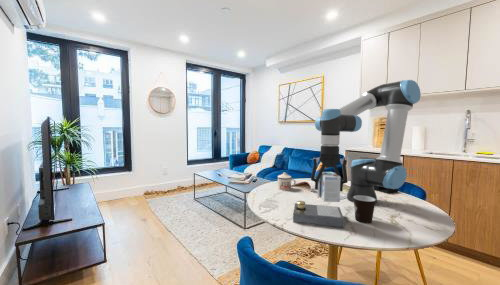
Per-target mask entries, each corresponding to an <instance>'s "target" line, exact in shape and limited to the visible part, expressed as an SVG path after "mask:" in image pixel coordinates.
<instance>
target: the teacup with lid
mask: <svg viewBox="0 0 500 285" xmlns="http://www.w3.org/2000/svg"><path fill="white" fill-rule="evenodd" d="M292 181H293V184H292ZM296 183H297V181H296V179H294V178H292V176H291V175H289V174H288V173H287V172H283V173H281V174H278V175H277V189H278V190H279V191H291V190H292V187H295V185H296Z"/></svg>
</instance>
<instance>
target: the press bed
mask: <svg viewBox="0 0 500 285" xmlns="http://www.w3.org/2000/svg"><path fill="white" fill-rule="evenodd" d="M292 213H293V215H292V222H293V223H295V224H303V225H312V226H319V227H328V228H338V229H345V228H344V226H345V225H344V224H345V218H344V216H343V213H342V210H341V208H340V207H339V206H333V205H322V204H321V205H320V204H306V203H305V207H304V210H298V204H297V202H296V203H294V208H293V212H292Z"/></svg>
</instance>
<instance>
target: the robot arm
mask: <svg viewBox="0 0 500 285" xmlns="http://www.w3.org/2000/svg"><path fill="white" fill-rule="evenodd" d="M420 99H421V88H420V86H419V84H418V83H417V82H416V81H415V80H413V79H406V80H403V79H402V80H400V81H394V82H389V83H384V84H380V85H378V86H375V87H373V88H371V89H370V90H367V91H366V92H364V93H362V94H361V95H360V97H358V98H356V99H355V100H353V101H351V102H349V103H348V104H346V105H343V106H342V107H340V108H326V109H323V110H322V113H321V115H320V116H318V117H317V118H316V119H315V122H314V127H315V129H316V130H317V131H319V132H321V133H320V145H321V146H320V156H319V157H313V158H312V162H313V166H312V170H311V178H310V180H311V181H312V182H314V189H315V190H317V195H316V197H317V199H319V198H320V182H318V181H319V179H320V177H321V175H322V173H323V172H324V170H325V169H326V168H333V169H334V173H335V174H337V175H339V176H341V173H340V170H339V169H338V166H337V165H338V163H339V162H340V164H341V167H342V170H341V171H342V175H343V177H342V178H341V179H340V193H341V192H343V186H344V184H347V183H348V181H349V180H348V172H347V161H348V160H347V159H345V158H344V159H343V158H340V146H339V145H340V136H341V132H343V133H354V132H358V131H359V130H360V129H361V128H362V126H363V121H362V118H361V117H360V116H359V115H360V114H362V113H364V112H366V111H368V110H373V109H375V108H378V107H385V109H386V110H387V115H386V118H385V125H384V126H385V127H384V131H383V135H382V136H383V138H382V143H381V149H380V153H379V154H380V155H379V156H378V157H376V158H375V159H374V158H364V159H363V158H360V159H359V158H358V159H353V160H352V161H351V166H350V185H349V189H348V191H347V194H346V200H348V201H350V202H353V203H354V198H353V197H354V196H357V195H361V196H369V197H372V198H374V199H376V201H375V204H377V203H378V196H377V194H376V190H374V185H377V186H381V187H385V188H390V189H397V188H398V189H399V188H401V187H402V186H403V185H404V183H405V182H406V179H407V176H408V175H407V174H408V173H407V169H406V167H404V166H403V165H404V163H403V161H402V160H401V155H402V149H403V142H404V136H405V131H406V126H407V121H408V120H407V119H408V114H409V111H411V110H413V105H415V104H417V103H419V101H420ZM319 161H320V162H321V164H322V165H321V166H320V169H319V171H318V173H317V175H316V170H317V165H318V163H319ZM315 176H316V177H315Z"/></svg>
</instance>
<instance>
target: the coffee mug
mask: <svg viewBox="0 0 500 285" xmlns="http://www.w3.org/2000/svg"><path fill="white" fill-rule="evenodd" d="M353 198H354V202H353V205H354V206H353V208H354V218H355V221H356V222H358V223H361V224H367V225H368V224H372V222H373V217H374V211H375V205H376V203H375V201H376V199H374V198H372V197H369V196H361V195H357V196H354V197H353Z"/></svg>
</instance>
